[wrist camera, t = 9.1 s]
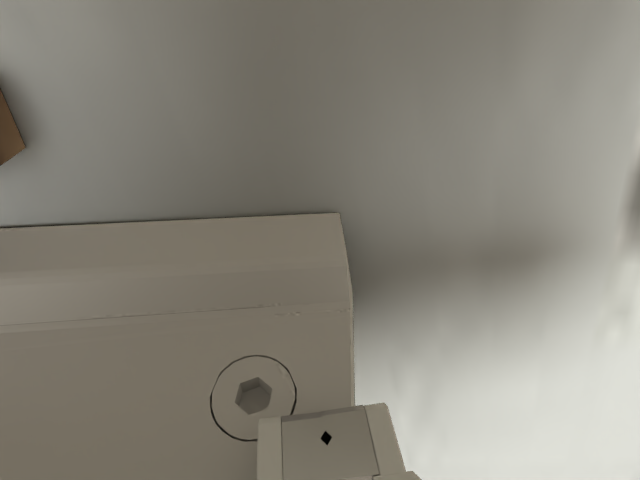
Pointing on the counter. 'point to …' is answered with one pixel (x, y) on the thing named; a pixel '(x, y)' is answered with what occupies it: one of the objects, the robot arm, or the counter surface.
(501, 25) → the counter surface
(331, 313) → the white curved block
